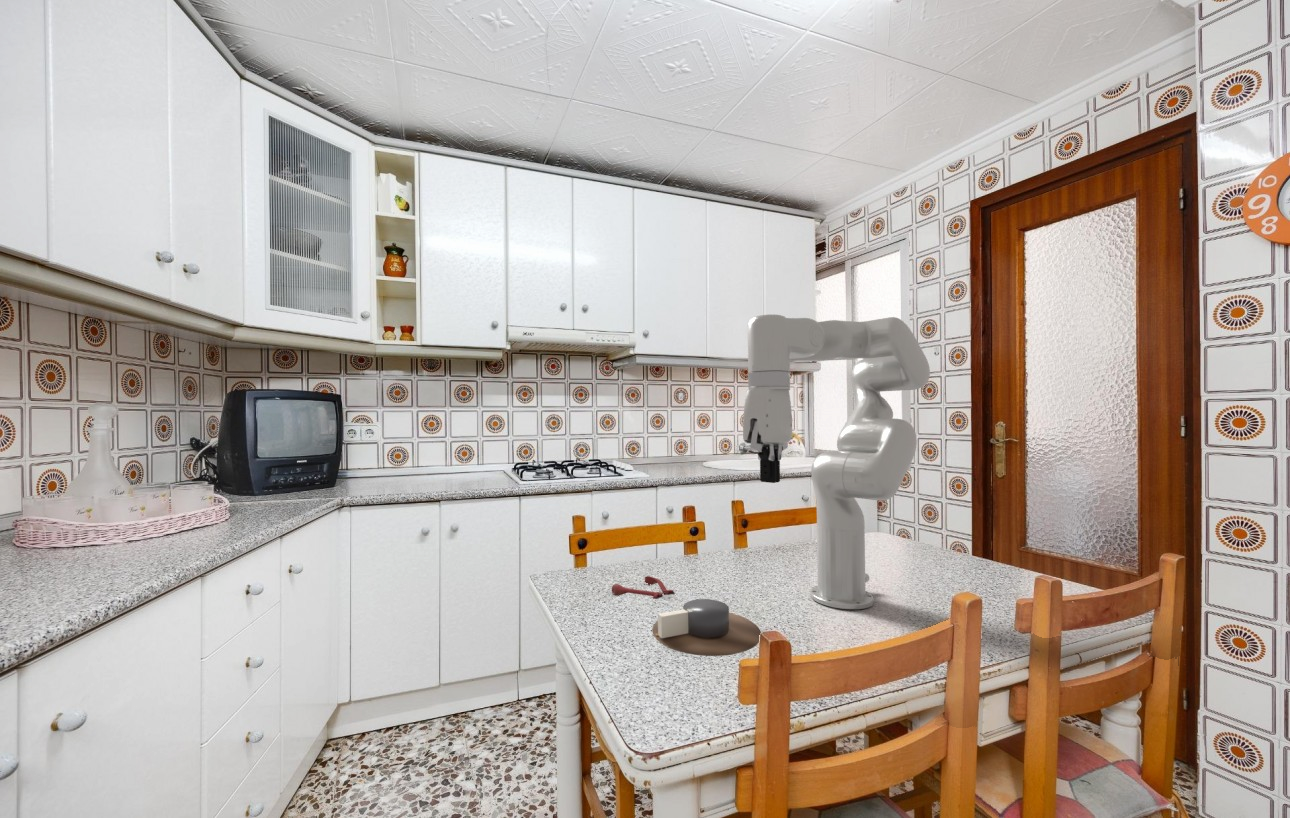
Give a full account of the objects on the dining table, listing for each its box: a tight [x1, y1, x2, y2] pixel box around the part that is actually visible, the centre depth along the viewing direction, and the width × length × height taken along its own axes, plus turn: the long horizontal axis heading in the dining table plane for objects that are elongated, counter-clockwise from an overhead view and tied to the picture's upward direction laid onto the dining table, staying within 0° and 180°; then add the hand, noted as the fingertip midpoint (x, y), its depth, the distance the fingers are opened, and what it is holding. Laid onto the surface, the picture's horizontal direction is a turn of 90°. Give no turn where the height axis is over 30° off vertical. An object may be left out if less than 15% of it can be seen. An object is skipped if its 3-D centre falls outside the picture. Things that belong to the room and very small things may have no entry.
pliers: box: [611, 575, 682, 603], centre depth 107 cm, size 12×20×3 cm, turn 38°
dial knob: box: [657, 598, 730, 638], centre depth 87 cm, size 13×8×4 cm, turn 113°
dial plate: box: [651, 612, 762, 657], centre depth 88 cm, size 19×19×2 cm
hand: (770, 481), depth 92 cm, fingers closed
